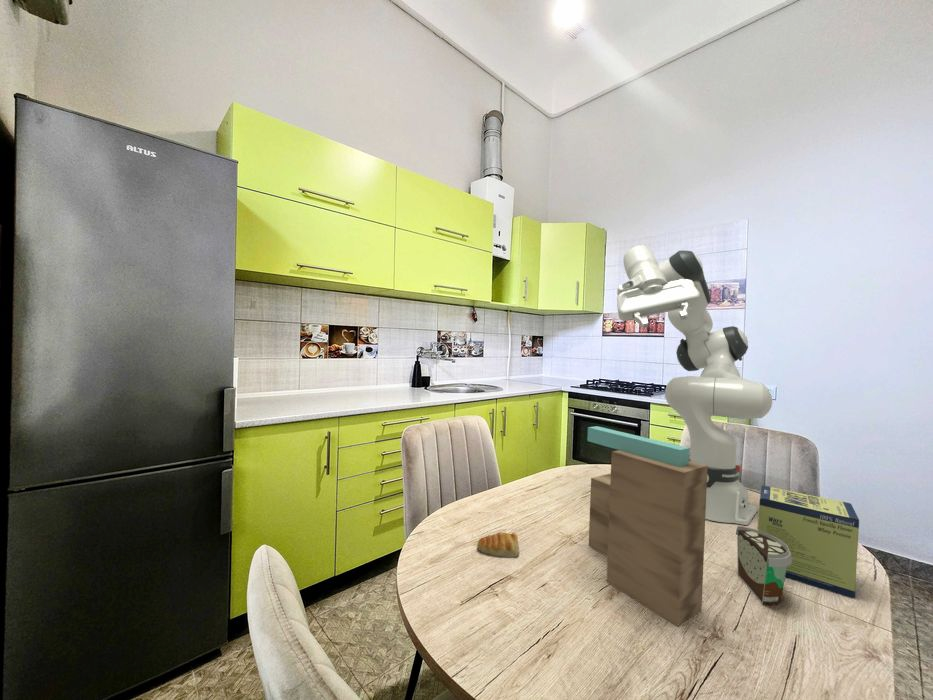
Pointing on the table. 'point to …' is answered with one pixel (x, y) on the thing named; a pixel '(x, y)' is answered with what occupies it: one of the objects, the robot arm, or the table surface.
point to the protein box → (813, 537)
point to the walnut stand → (652, 532)
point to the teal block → (640, 446)
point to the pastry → (500, 545)
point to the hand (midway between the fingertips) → (664, 322)
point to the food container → (762, 564)
